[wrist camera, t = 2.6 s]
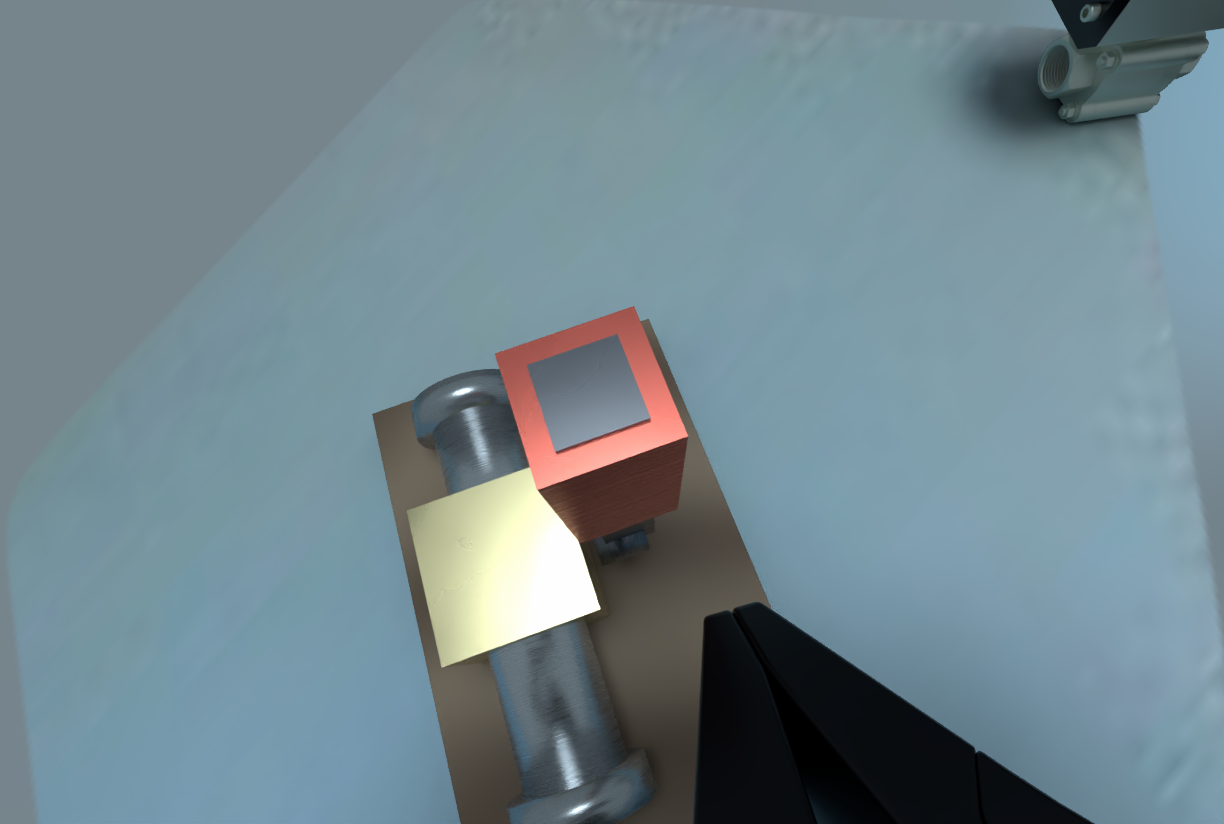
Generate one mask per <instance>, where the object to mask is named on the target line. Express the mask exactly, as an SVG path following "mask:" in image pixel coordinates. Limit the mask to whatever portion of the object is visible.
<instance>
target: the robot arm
mask: <svg viewBox="0 0 1224 824" xmlns="http://www.w3.org/2000/svg"><path fill="white" fill-rule="evenodd" d="M693 824H1094V823H1093V822H1091V821H1089V820H1088V819H1086V818H1084V817H1082V816H1081V815H1079V814H1077V813H1076V812H1074V811H1072V810H1071V809H1069V808H1067V807H1066V806H1064V805H1062V804H1061V803H1059V802H1057V801H1056V800H1054V799H1053V798H1051V797H1050V796H1048V795H1047V794H1045V793H1044V792H1042V791H1040V790H1039V789H1037V788H1036V787H1034V786H1033V785H1031V784H1030V783H1028V782H1027V781H1025V780H1023V779H1022V778H1020V777H1019V776H1017V775H1016V774H1014V773H1013V772H1011V771H1010V770H1008V769H1007V768H1005V767H1004V766H1002V765H1001V764H999V763H998V762H996V761H995V760H993V759H992V758H990V757H989V756H987V755H986V754H985V753H983V752H981V751H978V752H977V753H976V752H975V748H974V747H973V746H972V745H971V744H969V743H968V742H966V741H965V740H963V739H962V738H961V737H959V736H958V735H956V734H955V733H953V732H952V731H950V730H949V729H947V728H946V727H944V726H943V725H941V724H940V723H938V722H937V721H935V720H934V719H932V718H931V717H930V716H928V715H927V714H925V713H924V712H922V711H921V710H919V709H918V708H916V707H915V706H913V705H912V704H910V703H909V702H907V701H906V700H904V699H903V698H901V697H900V696H898V695H897V694H896V693H894V692H893V691H891V690H890V689H888V688H887V687H885V686H884V685H882V684H881V683H879V682H878V681H876V680H875V679H873V678H872V677H870V676H869V675H867V674H866V673H865V672H863V671H862V670H860V669H859V668H857V667H856V666H854V665H853V664H851V663H850V662H848V661H847V660H845V659H844V658H842V657H841V656H839V655H838V654H836V653H835V652H834V651H832V650H831V649H829V648H828V647H826V646H825V645H823V644H822V643H820V642H819V641H817V640H816V639H814V638H813V637H811V636H810V635H808V634H807V633H805V632H804V631H802V630H801V629H800V628H798V627H797V626H795V625H794V624H792V623H791V622H789V621H788V620H786V619H785V618H783V617H782V616H780V615H779V614H777V613H776V612H774V611H773V610H771V609H770V608H769V607H767V606H766V605H764V604H763V603H761V602H752V603H749V604H745V605H742V606H739V607H736V608H734V609H733V611H732V612H731V611H729V610H725V611H721V612H718V613H714V614H711V615H708V616H706V617H705V618H704V620H703V634H702V654H701V673H700V692H699V712H698V731H697V750H696V770H695V789H694V808H693Z"/></svg>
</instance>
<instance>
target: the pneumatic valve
mask: <svg viewBox="0 0 1224 824" xmlns="http://www.w3.org/2000/svg"><path fill="white" fill-rule="evenodd" d="M1052 2H1053V4H1054V6H1055V8H1056V10H1057V12H1058V13H1059V15H1060V17H1061V19H1062V21H1063V23H1064V25H1065V27H1066V28H1067V30H1068V32H1069V34H1067V35H1065V36H1063V37H1061V38H1059V39H1057V40H1055V41H1053V42H1052V43H1051V44H1050V45H1049V46H1048V47H1047V49H1046V50H1045V52H1044V53H1043V55H1042V58H1041V60H1040V63H1039V67H1038V85H1039V88H1040V90H1041V92H1042V93H1043V94H1044V95H1045V96H1046V97H1047V98H1048V99H1055V98H1059V99H1060V100H1061V102H1062V103H1063V104H1064V105H1062V106H1061V108H1060V110H1059V112H1058V114H1059V116H1060V117H1061V119H1066V121H1067V122H1069V123H1074V122H1081V121H1088V120H1095V119H1102V118H1109V117H1116V116H1123V115H1130V114H1137V113H1144V112H1148V111H1149V110H1150V109H1151V108H1152V107H1153V106H1154V105H1156V104H1157V103H1158V101H1159V99H1160V94H1159V93H1160V92H1161V91H1162V90H1163V89H1165V88H1166V87H1167V86H1168V85H1169V84H1170V83H1171V82H1172V81H1173V80H1174V79H1177V78H1179V77H1182V76H1184V75H1186V74H1188V73H1190V72H1191V71H1192V70H1193V69H1194V67H1195V66H1196V64H1197V63H1198V61H1199V60H1200V58H1201V56H1202V54H1203V53H1205V51H1206V50H1207V48H1208V44H1209V42H1208V40H1207V39H1206V33H1205V31H1208V30H1215V29H1222V28H1224V0H1052Z"/></svg>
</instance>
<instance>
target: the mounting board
mask: <svg viewBox="0 0 1224 824" xmlns="http://www.w3.org/2000/svg"><path fill="white" fill-rule="evenodd" d="M641 324H642V327H643V329H644V332H645V334H646V336H647V339H648V341H649V344H650V346H651V348H652V351H653V353H654V356H655V358H656V360H657V363H658V365H659V368H660V370H661V372H662V375H663V377H664V379H665V382H666V384H667V387H668V389H669V391H670V394H671V396H672V399H673V401H674V403H675V406H676V408H677V411H678V413H679V415H680V418H681V420H682V423H683V425H684V427H685V430H686V432H687V435H688V441H687V448H686V455H685V462H684V469H683V476H682V483H681V490H680V497H679V504H678V509H676V510H674V511H671V512H668V513H665V514H663V515H660V516H657V517H654V521H655V532H653V533H650V534H648V535H646V537H647V540H648V544H649V547H650V549H649V550H647V551H644V552H641V553H639V554H636V555H633V556H630V557H628V558H625V559H622V560H619V561H617V562H614V563H611V564H608V565H606V566H602V564H601V561H600V559H599V556H598V554H597V551H596V549H595V546H594V543H593V540H591V541H588V542H587V544H588V547H589V550H590V553H591V556H592V559H593V562H594V565H595V568H596V571H597V574H598V577H599V580H600V583H601V586H602V589H603V593H604V596H605V599H606V602H607V605H608V608H609V611H610V614H611V615H609V616H607V617H604V618H601V619H598V620H596V621H593V622H590V623H588V624H587V628H588V631H589V634H590V637H591V640H592V644H593V647H594V650H595V653H596V656H597V660H598V663H599V666H600V669H601V672H602V676H603V679H604V682H605V685H606V688H607V692H608V695H609V698H610V701H611V704H612V707H613V711H614V714H615V717H616V720H617V723H618V727H619V730H620V733H621V736H622V739H623V743H624V746H625V749H626V750H630V749H637V748H642V749H644V750H645V753H646V756H647V759H648V762H649V765H650V768H651V771H652V775H653V778H654V781H655V784H656V787H657V793H656V795H655V796H654V797H653V798H652V799H651V800H650V801H649V802H648V803H647V804H645V805H644V806H643V807H641V808H640V809H638V810H637V811H635V812H634V813H632V814H631V815H629V816H627V817H625V818H624V819H622V820H620V821H618V822H616V823H614V824H693V808H694V789H695V770H696V750H697V731H698V712H699V692H700V673H701V654H702V634H703V620H704V618H705V617H706V616H708V615H711V614H714V613H718V612H721V611H725V610H729V611H731V612H732V611H733V609H734V608H736V607H739V606H742V605H745V604H749V603H752V602H761V603H763V604H764V605H766V606H767V607H769V608H770V609H771V607H770V604H769V602H768V600H767V597H766V595H765V592H764V590H763V588H762V585H761V583H760V581H759V578H758V576H757V574H756V571H755V569H754V566H753V564H752V562H751V559H750V557H749V555H748V552H747V550H746V548H745V545H744V543H743V541H742V538H741V536H740V533H739V531H738V529H737V526H736V524H735V522H734V519H733V517H732V515H731V512H730V510H729V507H728V505H727V503H726V500H725V498H724V496H723V493H722V491H721V489H720V486H719V484H718V481H717V479H716V477H715V474H714V472H713V470H712V467H711V465H710V463H709V460H708V458H707V456H706V453H705V451H704V448H703V446H702V444H701V441H700V439H699V437H698V434H697V432H696V430H695V427H694V425H693V422H692V420H691V418H690V415H689V413H688V411H687V408H686V406H685V404H684V401H683V399H682V396H681V394H680V392H679V389H678V387H677V385H676V382H675V380H674V378H673V375H672V373H671V370H670V368H669V366H668V363H667V361H666V359H665V356H664V354H663V352H662V349H661V347H660V345H659V342H658V340H657V337H656V335H655V333H654V330H653V328H652V326H651V323H650V321H649V319H647V320H644V321H641ZM414 400H415V399H414ZM414 400H411V401H409V402H406V403H403V404H400V405H397V406H394V407H391V408H388V409H385V410H382V411H380V412H377V413H374V414H372V415H373V420H374V424H375V429H376V434H377V438H378V443H379V447H380V452H381V457H382V461H383V466H384V471H385V475H386V480H387V484H388V489H389V494H390V498H391V503H392V508H393V512H394V517H395V521H396V526H397V531H398V535H399V540H400V545H401V549H402V554H403V558H404V563H405V568H406V572H407V577H408V582H409V586H410V591H411V595H412V600H413V605H414V609H415V614H416V619H417V623H418V628H419V632H420V637H421V642H422V646H423V651H424V656H425V660H426V665H427V669H428V674H429V679H430V683H431V688H432V693H433V697H434V702H435V706H436V711H437V716H438V720H439V725H440V730H441V734H442V739H443V743H444V748H445V753H446V757H447V762H448V767H449V771H450V776H451V780H452V785H453V790H454V794H455V799H456V804H457V808H458V813H459V817H460V822H461V824H510V821H509V817H508V813H507V809H506V805H507V804H508V803H509V802H510V801H511V800H512V799H514V798H515V797H517V796H518V795H520V794H521V793H523V792H522V788H521V784H520V780H519V776H518V773H517V769H516V765H515V761H514V757H513V753H512V749H511V745H510V741H509V737H508V733H507V729H506V725H505V721H504V717H503V713H502V709H501V705H500V701H499V697H498V693H497V689H496V685H495V681H494V677H493V673H492V669H491V665H490V661H489V660H488V661H485V662H482V663H476V664H468V665H460V666H452V667H444V668H442V667H441V662H440V658H439V653H438V649H437V644H436V640H435V635H434V631H433V627H432V622H431V618H430V613H429V609H428V604H427V600H426V595H425V591H424V586H423V582H422V577H421V573H420V569H419V564H418V560H417V555H416V551H415V546H414V542H413V537H412V533H411V528H410V524H409V520H408V515H407V510H410V509H413V508H416V507H418V506H421V505H424V504H427V503H430V502H433V501H435V500H438V499H441V498H444V497H447V496H448V495H447V491H446V487H445V483H444V479H443V475H442V471H441V467H440V463H439V459H438V455H437V451H436V450H431V449H428V448H425V447H423V446H422V445H421V444H420V443H419V442H418V440H417V436H416V432H415V428H414V424H413V420H412V416H411V405H412V403H413V401H414ZM771 610H772V609H771Z"/></svg>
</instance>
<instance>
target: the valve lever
mask: <svg viewBox="0 0 1224 824" xmlns="http://www.w3.org/2000/svg"><path fill="white" fill-rule="evenodd" d="M495 355H496V359H497V362H498V365H499V368H500V372H501V375H502V378H503V381H504V385H505V388H506V391H507V394H508V398H509V401H510V404H511V407H512V411H513V414H514V417H515V420H516V424H517V427H518V430H519V433H520V436H521V440H522V443H523V446H524V449H525V453H526V456H527V459H528V462H529V466H530V469H531V472H532V475H533V479H534V482H535V485H536V488H537V491H538V492H539V493H540V494H541V496H542V497H543V498H544V499H545V501H546V502H547V503H548V504H549V505H550V507H551V508H552V509H553V510H554V512H555V513H556V514H557V515H558V517H559V518H560V519H561V520H562V522H563V523H564V524H565V525H566V527H567V528H568V529H569V530H570V531H571V533H572V534H573V535H574V536H575V538H576V539H577V540H578V541H579V543H580V544H583V543H585V542H588V541H591V540H593V543H594V546H595V549H596V551H597V554H598V556H599V559H600V561H601V564H602V566H606V565H608V564H611V563H614V562H617V561H619V560H622V559H625V558H628V557H630V556H633V555H636V554H639V553H641V552H644V551H647V550H649V549H650V547H649V544H648V540H647V537H646V535H648V534H650V533H653V532H655V521H654V517H657V516H660V515H663V514H665V513H668V512H671V511H674V510H676V509H678V504H679V497H680V490H681V483H682V476H683V469H684V462H685V455H686V448H687V441H688V435H687V432H686V430H685V427H684V425H683V423H682V420H681V418H680V415H679V413H678V411H677V408H676V406H675V403H674V401H673V399H672V396H671V394H670V391H669V389H668V387H667V384H666V382H665V379H664V377H663V375H662V372H661V370H660V368H659V365H658V363H657V360H656V358H655V356H654V353H653V351H652V348H651V346H650V344H649V341H648V339H647V336H646V334H645V332H644V329H643V327H642V324H641V322H640V320H639V317H638V315H637V312H636V310H635V308H634V306H633V307H630V308H627V309H624V310H621V311H618V312H616V313H613V314H610V315H607V316H604V317H601V318H598V319H595V320H592V321H589V322H586V323H583V324H581V325H578V326H575V327H572V328H569V329H566V330H563V331H560V332H557V333H554V334H551V335H548V336H546V337H543V338H540V339H537V340H534V341H531V342H528V343H525V344H522V345H519V346H516V347H513V348H511V349H508V350H505V351H502V352H499V353H496V354H495Z"/></svg>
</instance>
